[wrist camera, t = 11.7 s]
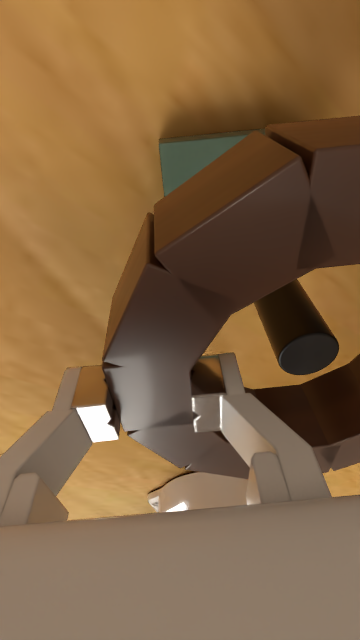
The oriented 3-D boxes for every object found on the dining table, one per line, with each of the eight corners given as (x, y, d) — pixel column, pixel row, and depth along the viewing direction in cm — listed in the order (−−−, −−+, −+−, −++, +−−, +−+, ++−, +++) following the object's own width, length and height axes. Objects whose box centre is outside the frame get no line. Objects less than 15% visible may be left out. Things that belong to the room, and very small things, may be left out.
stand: (286, 258, 24) (395, 420, 13) (172, 268, 24) (183, 439, 13) (307, 124, 19) (532, 207, 7) (158, 138, 19) (157, 243, 7)
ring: (395, 403, 16) (437, 461, 13) (145, 429, 16) (144, 492, 13) (587, 92, 8) (777, 103, 5) (69, 143, 8) (33, 177, 5)
